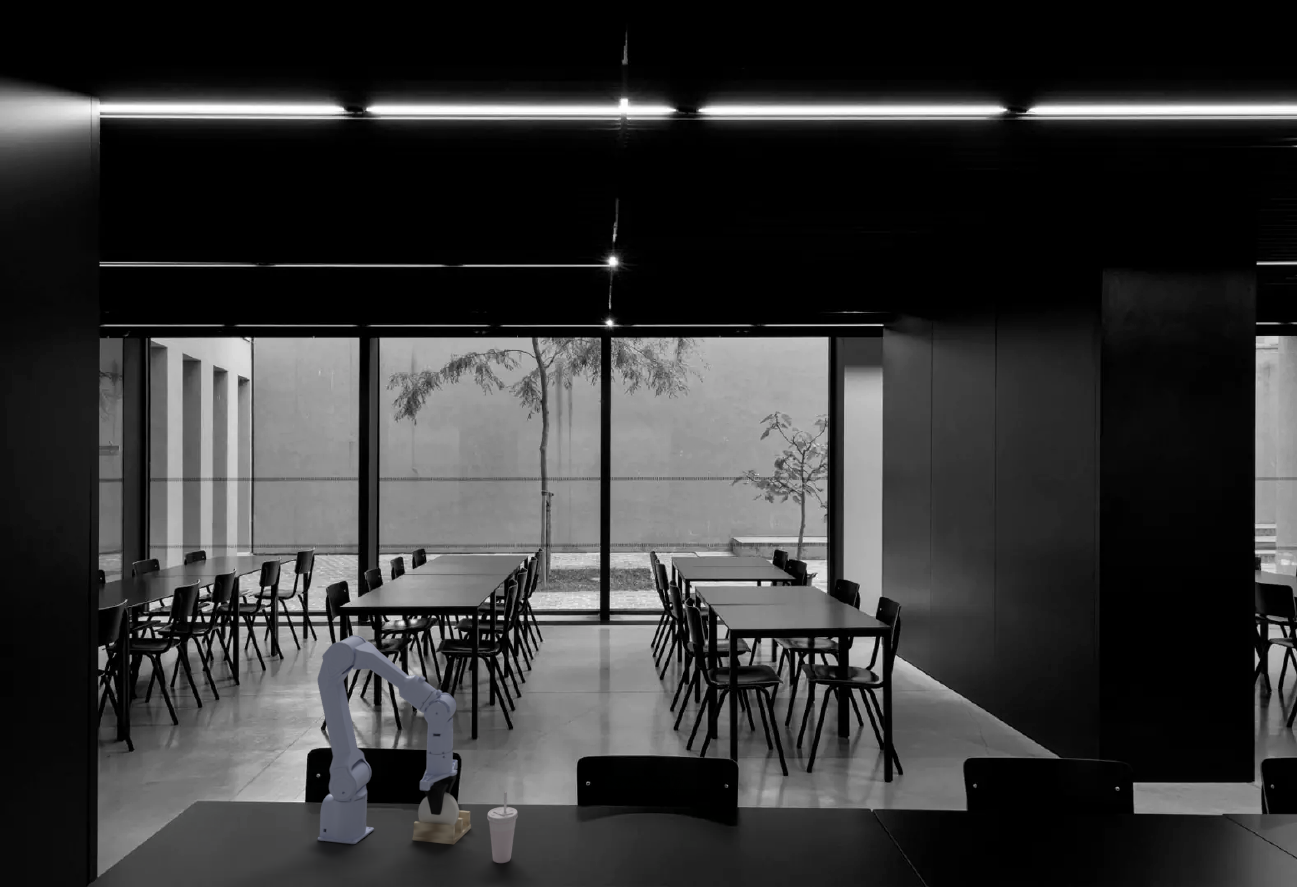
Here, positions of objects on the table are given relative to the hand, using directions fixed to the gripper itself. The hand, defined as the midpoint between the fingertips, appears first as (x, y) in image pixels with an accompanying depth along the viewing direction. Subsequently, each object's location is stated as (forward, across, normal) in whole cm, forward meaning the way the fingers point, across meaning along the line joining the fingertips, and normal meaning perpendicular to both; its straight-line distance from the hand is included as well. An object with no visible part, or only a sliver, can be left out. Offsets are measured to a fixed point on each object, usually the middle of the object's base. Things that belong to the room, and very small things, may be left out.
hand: (438, 812), depth 183 cm
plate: (+5, 0, 0) cm, 5 cm away
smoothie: (+6, -7, -18) cm, 20 cm away
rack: (+6, +2, 0) cm, 6 cm away
